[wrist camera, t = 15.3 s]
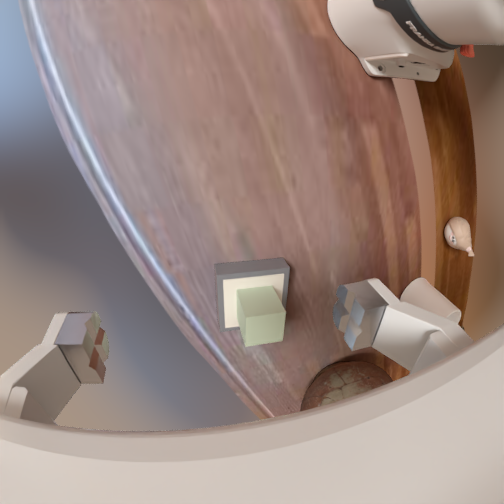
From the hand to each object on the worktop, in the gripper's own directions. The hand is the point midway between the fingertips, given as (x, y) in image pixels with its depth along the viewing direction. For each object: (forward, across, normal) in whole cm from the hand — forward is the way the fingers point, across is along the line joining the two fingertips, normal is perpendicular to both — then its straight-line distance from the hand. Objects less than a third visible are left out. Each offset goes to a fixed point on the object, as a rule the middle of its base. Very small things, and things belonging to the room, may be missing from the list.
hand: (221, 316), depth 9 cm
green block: (+24, -7, +19) cm, 31 cm away
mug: (+28, -41, +28) cm, 57 cm away
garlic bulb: (+28, -49, +12) cm, 57 cm away
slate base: (+27, -6, +19) cm, 34 cm away
